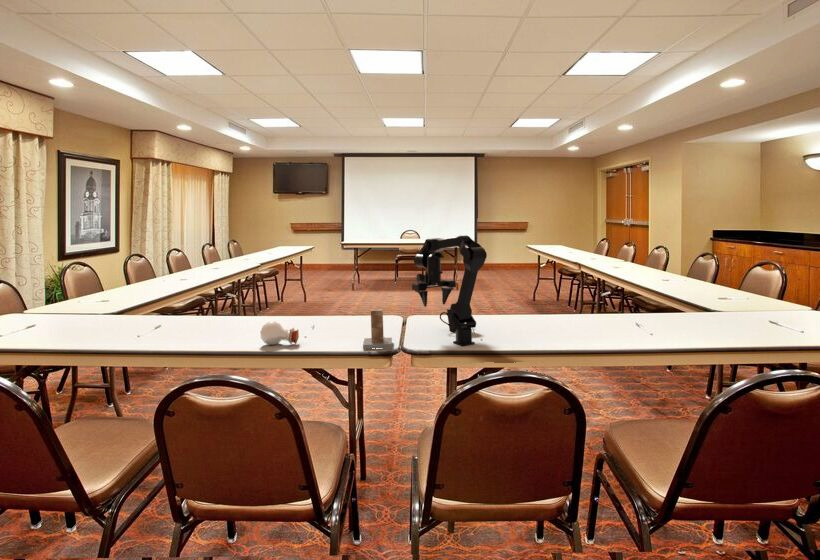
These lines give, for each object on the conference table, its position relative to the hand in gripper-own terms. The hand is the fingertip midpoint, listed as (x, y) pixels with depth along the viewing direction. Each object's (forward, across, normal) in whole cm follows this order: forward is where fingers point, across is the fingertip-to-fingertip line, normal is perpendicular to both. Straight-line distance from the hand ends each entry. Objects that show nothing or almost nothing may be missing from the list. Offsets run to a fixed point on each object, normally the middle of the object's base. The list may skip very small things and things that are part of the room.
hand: (434, 305), depth 222 cm
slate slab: (+13, +28, +2) cm, 31 cm away
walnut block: (+11, +28, +2) cm, 30 cm away
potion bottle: (+13, +60, -24) cm, 66 cm away
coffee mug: (+13, -12, -4) cm, 18 cm away
